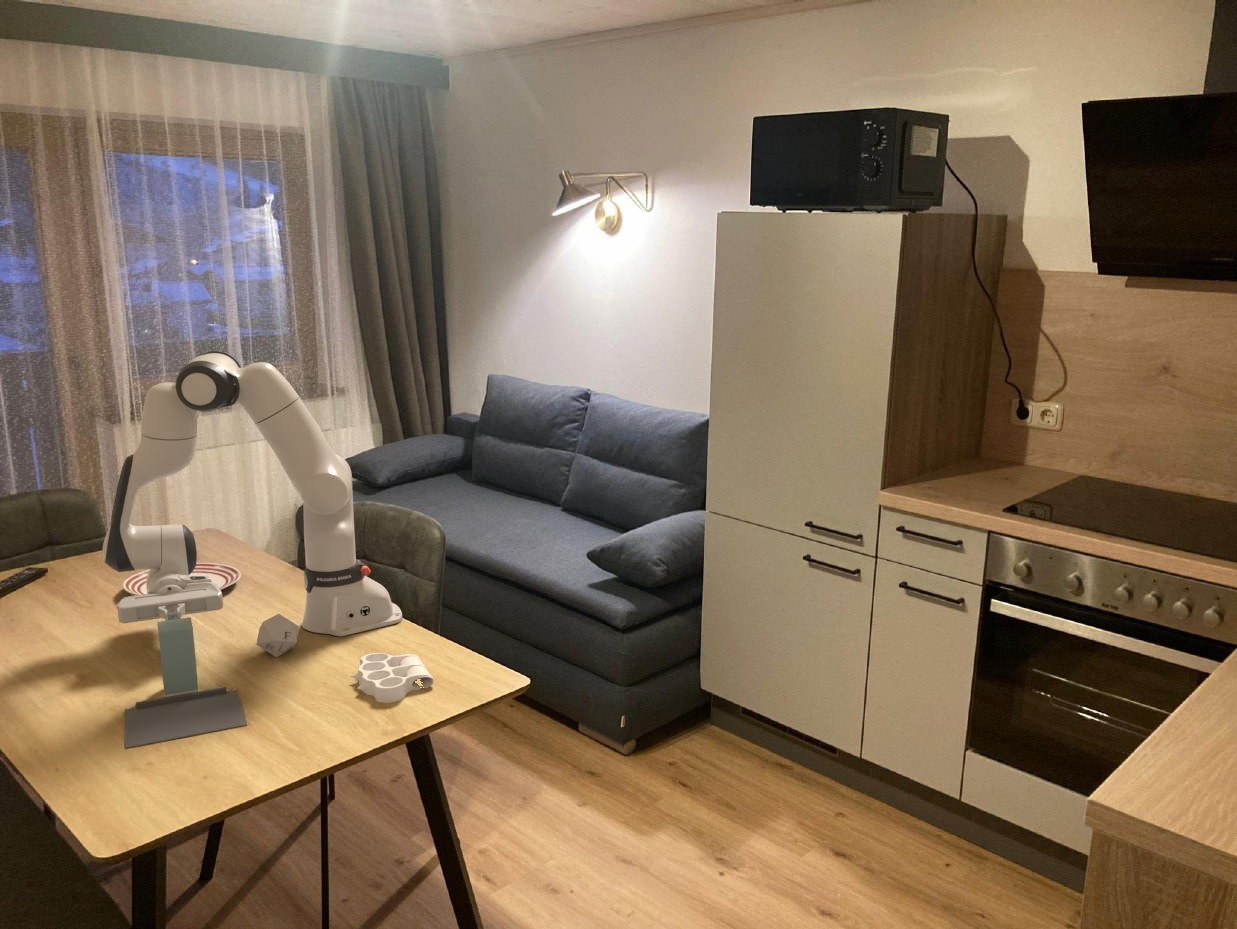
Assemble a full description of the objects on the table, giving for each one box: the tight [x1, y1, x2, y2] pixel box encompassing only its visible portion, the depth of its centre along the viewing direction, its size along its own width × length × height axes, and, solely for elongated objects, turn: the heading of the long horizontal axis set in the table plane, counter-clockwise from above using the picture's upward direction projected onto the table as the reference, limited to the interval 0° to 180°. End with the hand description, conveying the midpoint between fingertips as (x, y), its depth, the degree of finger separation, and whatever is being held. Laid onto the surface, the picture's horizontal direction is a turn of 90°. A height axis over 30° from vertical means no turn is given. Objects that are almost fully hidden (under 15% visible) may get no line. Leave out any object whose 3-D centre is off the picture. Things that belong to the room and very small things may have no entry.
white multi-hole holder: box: [350, 652, 435, 704], centre depth 199 cm, size 3×18×15 cm
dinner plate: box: [122, 562, 242, 596], centre depth 250 cm, size 27×27×3 cm
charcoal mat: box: [124, 686, 248, 750], centre depth 183 cm, size 20×16×1 cm
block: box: [157, 616, 199, 697], centre depth 192 cm, size 6×6×14 cm
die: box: [255, 613, 299, 658], centre depth 212 cm, size 8×9×10 cm
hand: (172, 616), depth 203 cm, fingers closed
